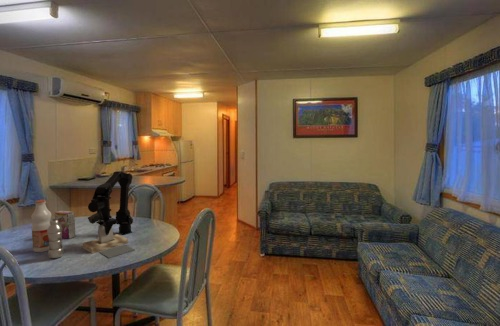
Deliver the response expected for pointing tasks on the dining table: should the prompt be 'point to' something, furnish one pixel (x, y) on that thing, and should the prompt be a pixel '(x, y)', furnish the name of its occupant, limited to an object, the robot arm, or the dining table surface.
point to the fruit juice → (40, 226)
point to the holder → (104, 244)
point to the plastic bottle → (55, 239)
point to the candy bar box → (66, 223)
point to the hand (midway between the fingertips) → (105, 234)
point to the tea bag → (104, 234)
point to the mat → (117, 251)
